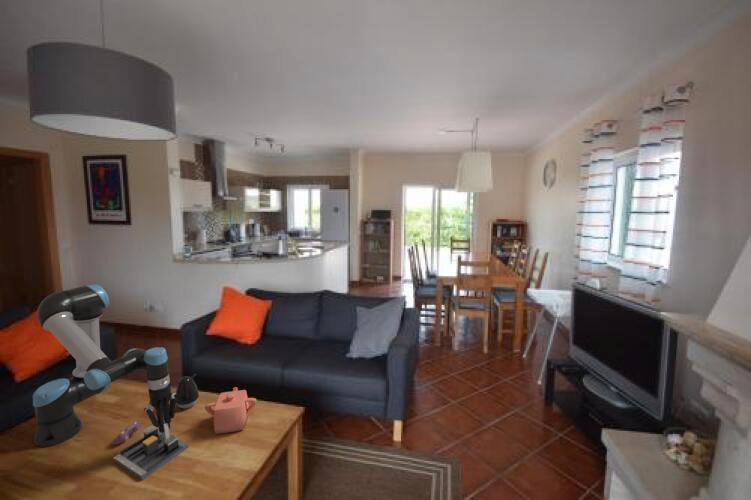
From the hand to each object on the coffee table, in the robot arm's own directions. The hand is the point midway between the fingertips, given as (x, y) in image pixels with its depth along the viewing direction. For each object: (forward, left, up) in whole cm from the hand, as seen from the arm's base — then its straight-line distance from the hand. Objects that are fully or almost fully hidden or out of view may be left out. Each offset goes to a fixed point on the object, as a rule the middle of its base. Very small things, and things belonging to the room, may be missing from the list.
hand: (165, 437), depth 141 cm
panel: (0, -6, -3) cm, 7 cm away
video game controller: (-19, -5, -4) cm, 20 cm away
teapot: (+12, +24, -4) cm, 27 cm away
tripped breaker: (0, -6, -2) cm, 6 cm away
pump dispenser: (-17, +21, -4) cm, 27 cm away
